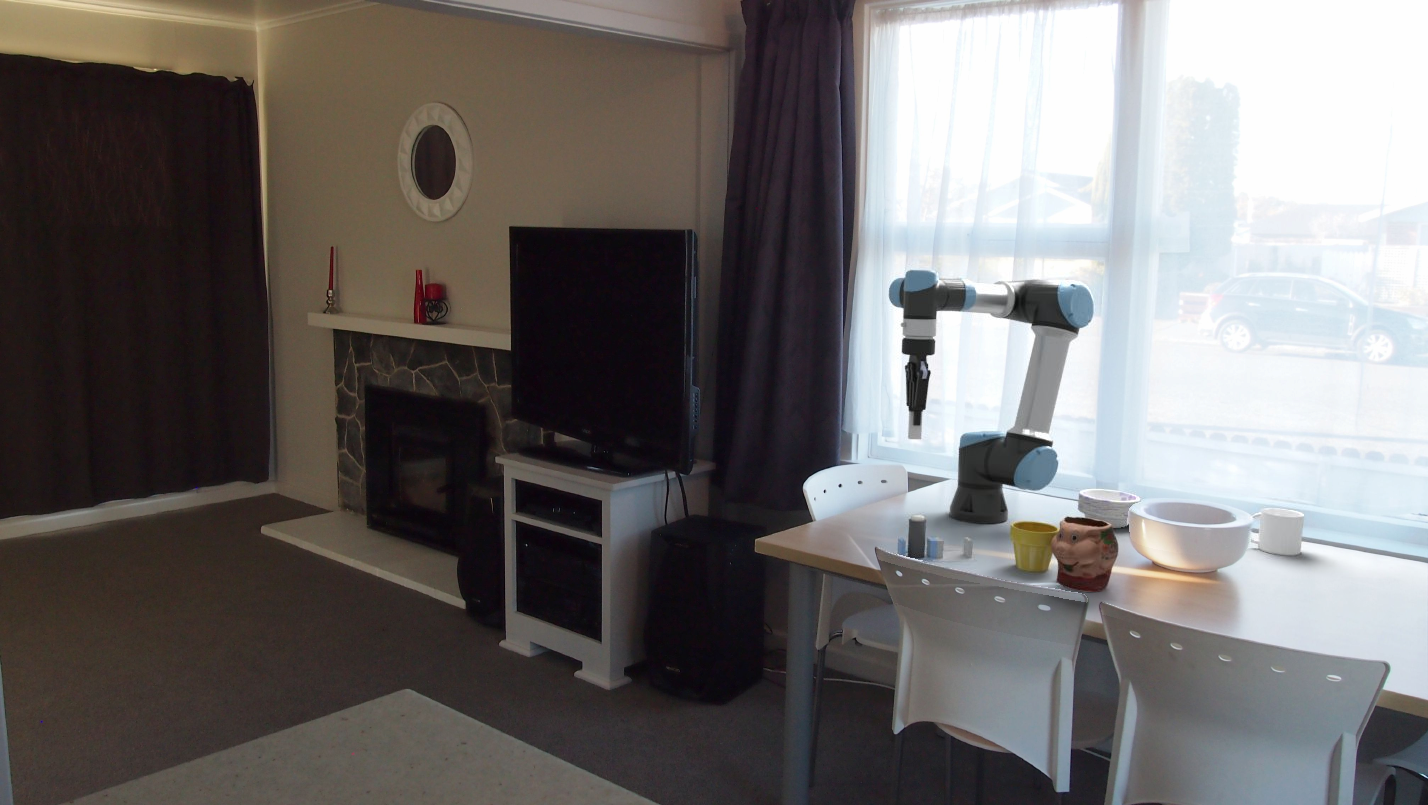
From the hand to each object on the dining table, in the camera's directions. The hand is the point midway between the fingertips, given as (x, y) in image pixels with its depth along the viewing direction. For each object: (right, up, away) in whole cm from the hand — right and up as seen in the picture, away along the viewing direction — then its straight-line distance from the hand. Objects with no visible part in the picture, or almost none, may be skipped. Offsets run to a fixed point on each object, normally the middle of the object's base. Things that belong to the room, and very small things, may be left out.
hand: (914, 438), depth 237 cm
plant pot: (+24, -29, -11) cm, 39 cm away
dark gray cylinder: (-1, -27, -5) cm, 27 cm away
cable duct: (+4, -27, -4) cm, 28 cm away
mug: (+88, -27, +8) cm, 92 cm away
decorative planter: (+32, -30, -22) cm, 49 cm away
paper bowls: (+57, -24, +30) cm, 68 cm away
